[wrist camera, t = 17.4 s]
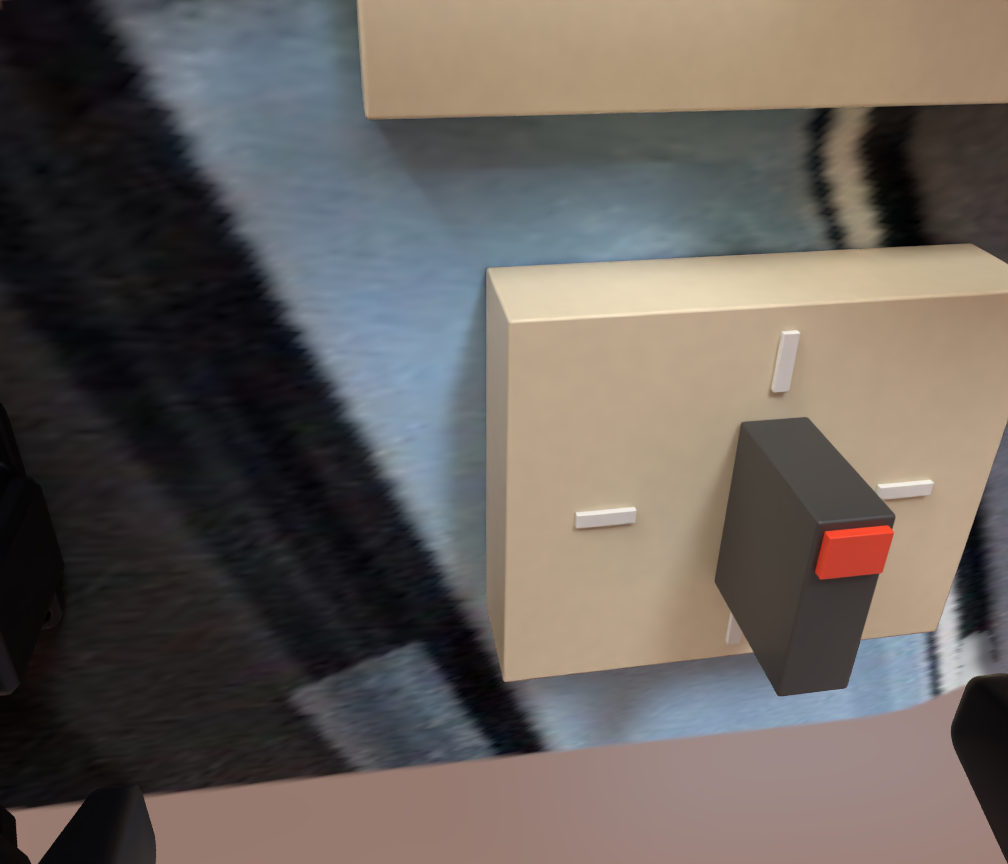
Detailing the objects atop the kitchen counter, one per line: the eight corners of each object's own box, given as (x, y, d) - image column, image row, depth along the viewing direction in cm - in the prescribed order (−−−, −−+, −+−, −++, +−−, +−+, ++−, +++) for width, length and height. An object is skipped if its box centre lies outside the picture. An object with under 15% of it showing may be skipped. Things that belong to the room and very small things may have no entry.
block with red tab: (774, 575, 23) (853, 697, 19) (713, 581, 23) (782, 706, 19) (807, 415, 20) (905, 522, 17) (739, 420, 20) (824, 530, 17)
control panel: (485, 604, 26) (504, 688, 23) (486, 266, 21) (510, 324, 18) (880, 562, 28) (940, 636, 25) (971, 242, 22) (1059, 291, 20)
